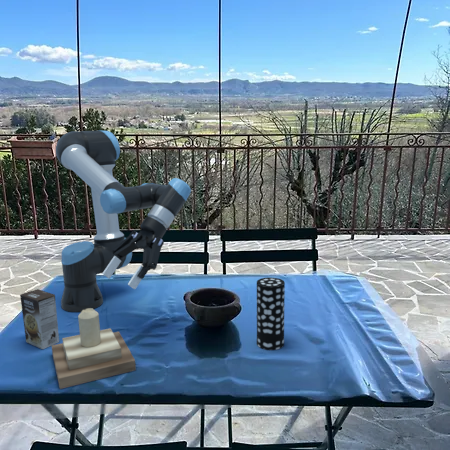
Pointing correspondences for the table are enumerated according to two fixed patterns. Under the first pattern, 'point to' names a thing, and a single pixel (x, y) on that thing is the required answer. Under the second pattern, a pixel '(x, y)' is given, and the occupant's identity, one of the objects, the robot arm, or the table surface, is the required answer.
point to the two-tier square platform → (91, 359)
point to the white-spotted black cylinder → (270, 313)
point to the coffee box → (40, 318)
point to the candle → (89, 327)
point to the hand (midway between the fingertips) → (118, 281)
